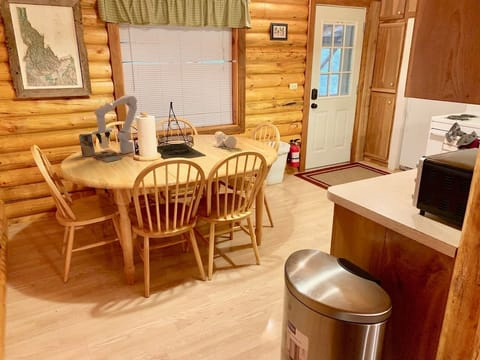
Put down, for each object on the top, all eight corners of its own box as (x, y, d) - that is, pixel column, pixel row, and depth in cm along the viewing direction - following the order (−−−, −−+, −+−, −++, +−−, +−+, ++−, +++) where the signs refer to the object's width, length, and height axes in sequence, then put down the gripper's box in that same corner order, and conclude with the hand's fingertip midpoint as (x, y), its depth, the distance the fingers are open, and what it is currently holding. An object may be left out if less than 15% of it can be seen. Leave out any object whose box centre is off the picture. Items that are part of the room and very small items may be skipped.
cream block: (106, 146, 279) (104, 136, 277) (108, 147, 276) (107, 136, 274) (100, 147, 277) (99, 136, 274) (102, 148, 273) (101, 137, 271)
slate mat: (116, 156, 277) (116, 155, 277) (122, 159, 270) (122, 158, 270) (100, 159, 270) (100, 159, 269) (106, 162, 263) (106, 161, 262)
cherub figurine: (223, 137, 288) (210, 130, 303) (223, 152, 294) (210, 145, 308) (237, 134, 295) (223, 128, 310) (236, 149, 301) (223, 142, 315)
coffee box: (95, 153, 286) (92, 133, 281) (94, 155, 280) (91, 134, 275) (82, 154, 284) (79, 133, 278) (81, 156, 278) (78, 135, 272)
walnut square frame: (110, 152, 288) (110, 149, 287) (117, 155, 280) (117, 152, 279) (92, 156, 279) (92, 152, 278) (99, 159, 271) (99, 155, 270)
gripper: (108, 122, 278) (110, 140, 283) (89, 125, 269) (92, 143, 273) (112, 123, 273) (115, 141, 278) (93, 126, 264) (96, 145, 268)
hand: (104, 142), depth 275 cm, fingers closed on cream block, 4 cm apart
